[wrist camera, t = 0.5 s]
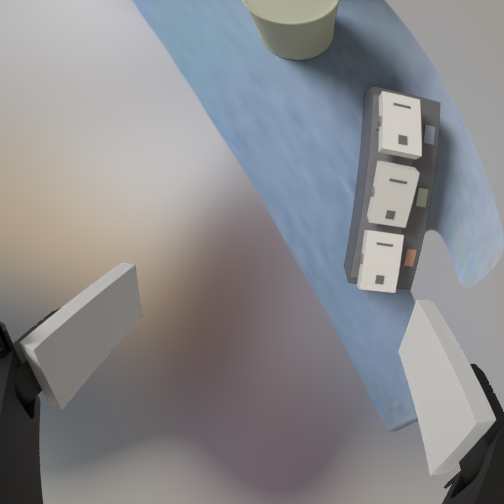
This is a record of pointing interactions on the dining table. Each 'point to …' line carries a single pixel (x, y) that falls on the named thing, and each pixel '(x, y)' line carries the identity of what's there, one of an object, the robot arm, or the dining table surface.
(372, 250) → the rocker
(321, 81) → the dining table surface
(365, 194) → the rocker switch panel
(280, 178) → the dining table surface
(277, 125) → the dining table surface
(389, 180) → the rocker
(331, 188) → the dining table surface
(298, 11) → the can
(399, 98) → the rocker
